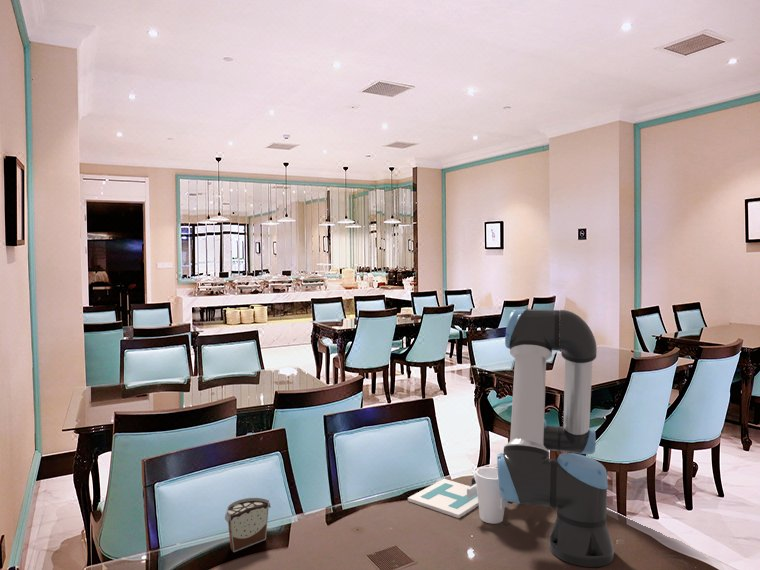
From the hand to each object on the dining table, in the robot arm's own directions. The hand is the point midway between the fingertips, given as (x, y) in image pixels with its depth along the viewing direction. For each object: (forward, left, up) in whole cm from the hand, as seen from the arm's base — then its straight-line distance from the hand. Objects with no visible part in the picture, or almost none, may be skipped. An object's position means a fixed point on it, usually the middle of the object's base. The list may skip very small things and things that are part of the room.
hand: (484, 498), depth 154 cm
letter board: (+16, -8, -7) cm, 19 cm away
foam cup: (0, -4, -7) cm, 8 cm away
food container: (+42, +49, -7) cm, 65 cm away
